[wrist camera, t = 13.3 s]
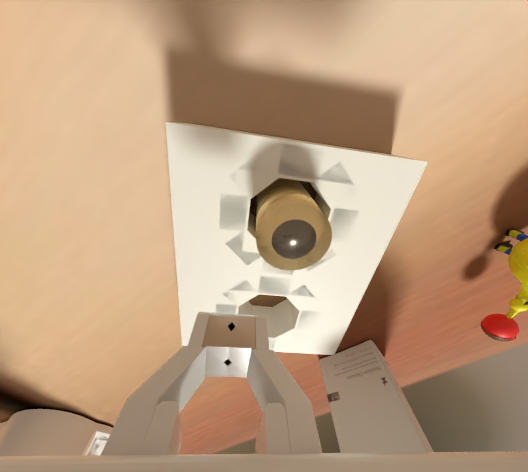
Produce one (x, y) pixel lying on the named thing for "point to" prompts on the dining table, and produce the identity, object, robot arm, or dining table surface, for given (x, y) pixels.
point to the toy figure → (524, 268)
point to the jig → (244, 229)
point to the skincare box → (369, 404)
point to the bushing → (290, 226)
